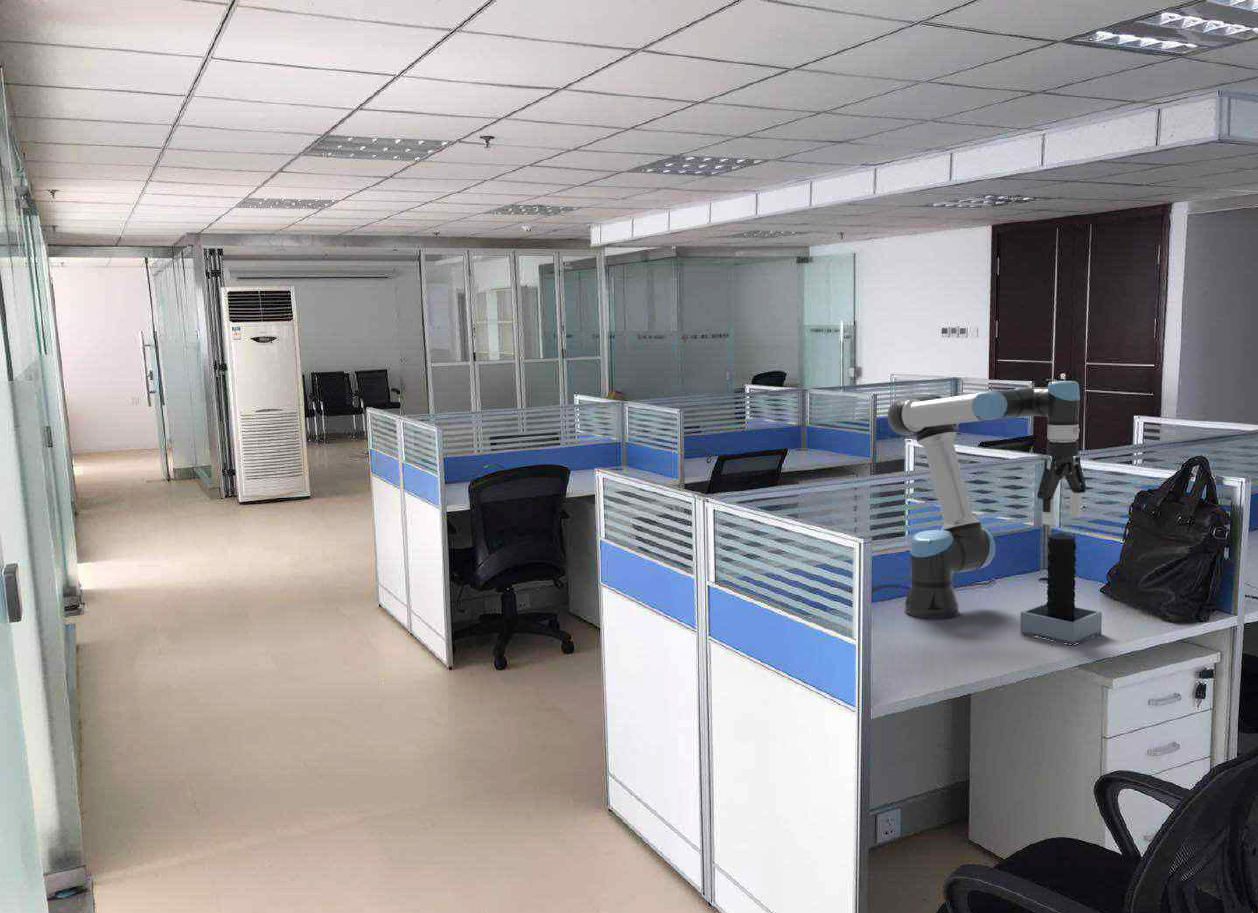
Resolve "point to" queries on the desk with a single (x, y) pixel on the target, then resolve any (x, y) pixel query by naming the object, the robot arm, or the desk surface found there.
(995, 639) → the desk surface
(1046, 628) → the box
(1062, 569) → the handle grip
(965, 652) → the desk surface
